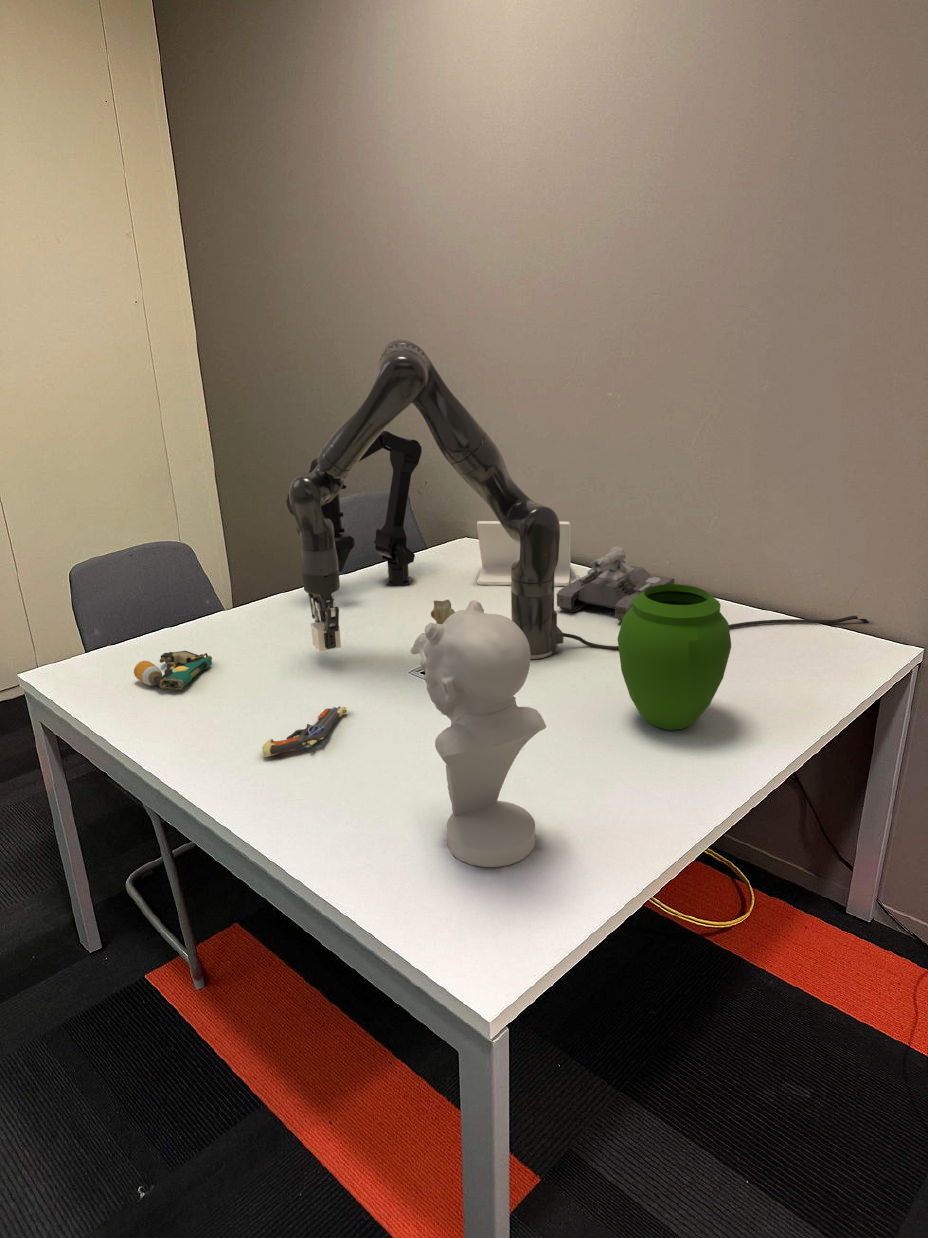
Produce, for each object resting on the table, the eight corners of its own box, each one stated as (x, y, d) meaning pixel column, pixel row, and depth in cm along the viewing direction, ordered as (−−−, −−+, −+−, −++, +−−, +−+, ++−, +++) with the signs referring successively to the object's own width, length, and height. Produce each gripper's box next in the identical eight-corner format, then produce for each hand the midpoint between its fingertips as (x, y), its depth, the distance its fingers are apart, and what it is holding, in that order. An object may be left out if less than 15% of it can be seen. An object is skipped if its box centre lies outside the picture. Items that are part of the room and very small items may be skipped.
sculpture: (458, 662, 183) (456, 596, 178) (460, 676, 176) (457, 608, 171) (431, 663, 183) (428, 597, 177) (431, 677, 176) (428, 609, 171)
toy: (603, 584, 229) (605, 530, 224) (673, 597, 218) (677, 540, 213) (555, 612, 210) (556, 553, 205) (630, 627, 199) (633, 566, 194)
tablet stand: (569, 585, 229) (570, 524, 223) (476, 584, 232) (475, 523, 226) (570, 566, 246) (571, 508, 240) (484, 564, 249) (483, 507, 243)
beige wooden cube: (334, 640, 187) (332, 619, 185) (341, 647, 183) (339, 626, 181) (312, 644, 185) (310, 623, 183) (319, 651, 181) (317, 630, 179)
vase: (737, 711, 158) (749, 586, 150) (704, 757, 143) (715, 621, 134) (638, 689, 168) (643, 571, 160) (597, 730, 153) (601, 602, 144)
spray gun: (177, 659, 191) (231, 671, 185) (120, 684, 176) (176, 698, 171) (176, 641, 190) (230, 653, 184) (118, 665, 175) (174, 678, 169)
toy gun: (257, 746, 146) (311, 744, 144) (298, 704, 164) (347, 701, 161) (260, 761, 146) (314, 759, 144) (300, 717, 164) (349, 715, 162)
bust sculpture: (481, 772, 140) (476, 569, 128) (565, 848, 120) (569, 617, 108) (392, 800, 134) (378, 588, 121) (465, 886, 114) (457, 642, 101)
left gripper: (287, 505, 220) (293, 563, 226) (309, 520, 204) (315, 582, 210) (328, 499, 225) (333, 556, 230) (353, 514, 209) (357, 574, 215)
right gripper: (293, 562, 182) (300, 636, 188) (312, 580, 170) (320, 658, 176) (327, 557, 185) (333, 630, 191) (348, 574, 173) (354, 651, 179)
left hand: (333, 567), depth 221 cm, fingers open, 9 cm apart
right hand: (326, 643), depth 184 cm, fingers closed on beige wooden cube, 4 cm apart
